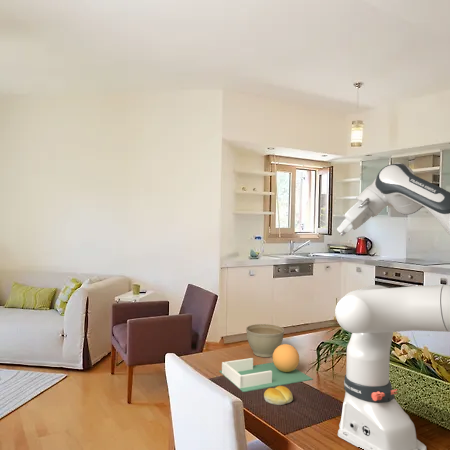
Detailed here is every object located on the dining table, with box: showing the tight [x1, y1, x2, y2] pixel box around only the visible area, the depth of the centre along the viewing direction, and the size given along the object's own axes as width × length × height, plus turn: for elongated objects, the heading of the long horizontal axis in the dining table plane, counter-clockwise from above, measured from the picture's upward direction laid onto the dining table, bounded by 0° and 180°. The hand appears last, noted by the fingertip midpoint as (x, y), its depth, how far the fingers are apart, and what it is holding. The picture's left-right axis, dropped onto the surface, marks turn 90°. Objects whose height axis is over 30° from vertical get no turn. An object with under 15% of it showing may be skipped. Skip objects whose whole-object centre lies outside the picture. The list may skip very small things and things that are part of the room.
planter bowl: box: [245, 323, 285, 358], centre depth 174 cm, size 16×16×11 cm
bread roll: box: [263, 385, 294, 406], centre depth 130 cm, size 8×9×4 cm
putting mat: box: [218, 362, 314, 393], centre depth 150 cm, size 20×28×1 cm
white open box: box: [221, 357, 272, 389], centre depth 146 cm, size 15×12×4 cm
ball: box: [272, 343, 300, 372], centre depth 153 cm, size 10×10×10 cm
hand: (339, 233), depth 137 cm, fingers open, 8 cm apart
